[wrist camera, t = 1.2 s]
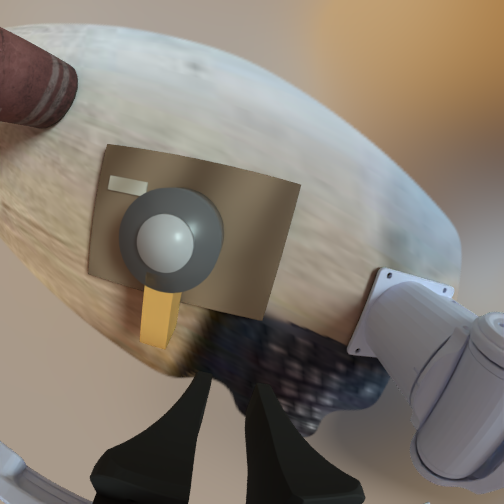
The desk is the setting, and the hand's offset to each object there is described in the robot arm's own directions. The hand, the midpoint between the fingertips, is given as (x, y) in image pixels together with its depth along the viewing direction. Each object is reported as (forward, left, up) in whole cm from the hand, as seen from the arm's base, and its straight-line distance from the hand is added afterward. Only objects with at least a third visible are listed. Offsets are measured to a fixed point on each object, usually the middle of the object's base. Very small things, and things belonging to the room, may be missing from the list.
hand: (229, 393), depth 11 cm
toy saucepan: (+5, -3, -8) cm, 10 cm away
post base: (+5, -5, -9) cm, 12 cm away
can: (+20, -14, -10) cm, 26 cm away
